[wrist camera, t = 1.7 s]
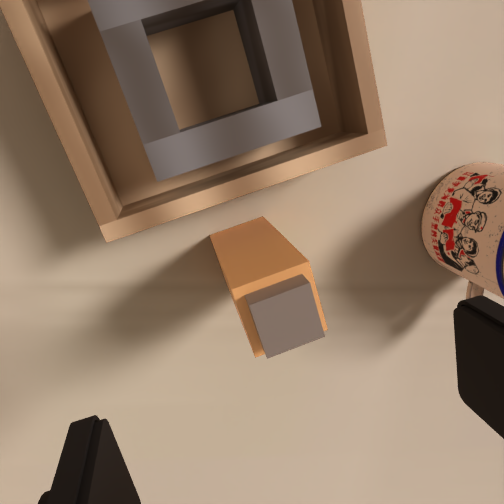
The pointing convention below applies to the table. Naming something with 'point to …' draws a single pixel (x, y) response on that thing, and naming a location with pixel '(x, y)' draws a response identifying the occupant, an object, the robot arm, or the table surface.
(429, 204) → the teacup with lid
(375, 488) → the table surface
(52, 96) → the oak box
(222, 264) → the block
